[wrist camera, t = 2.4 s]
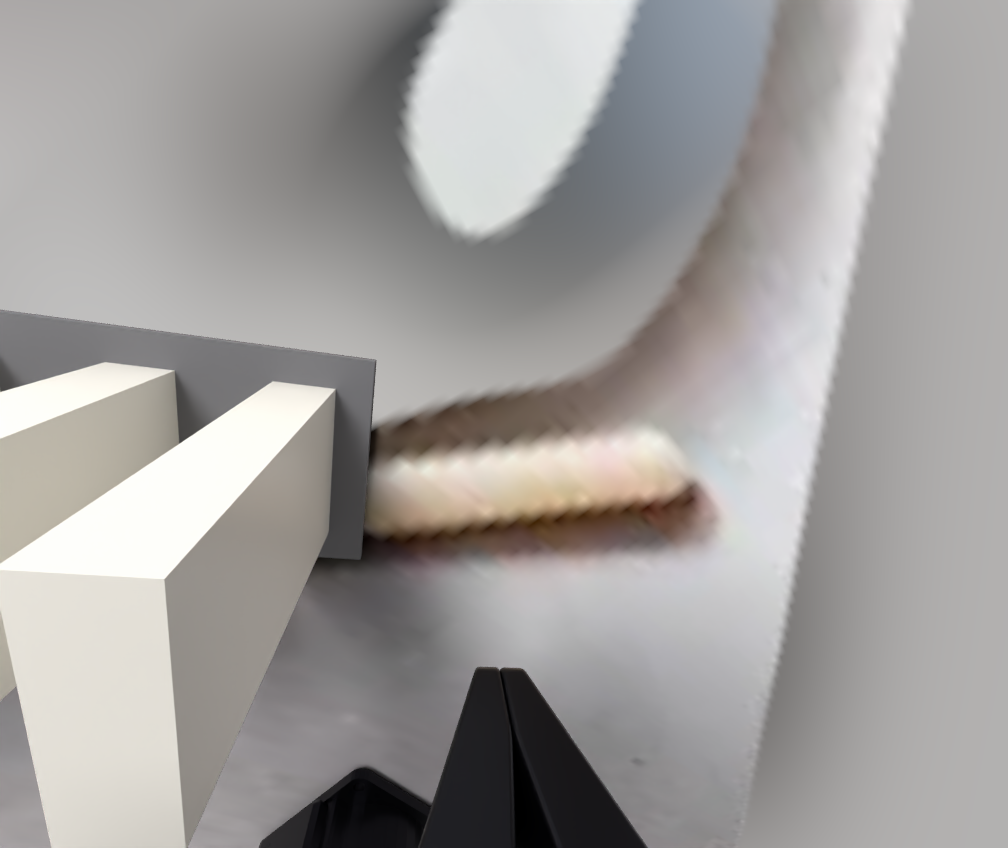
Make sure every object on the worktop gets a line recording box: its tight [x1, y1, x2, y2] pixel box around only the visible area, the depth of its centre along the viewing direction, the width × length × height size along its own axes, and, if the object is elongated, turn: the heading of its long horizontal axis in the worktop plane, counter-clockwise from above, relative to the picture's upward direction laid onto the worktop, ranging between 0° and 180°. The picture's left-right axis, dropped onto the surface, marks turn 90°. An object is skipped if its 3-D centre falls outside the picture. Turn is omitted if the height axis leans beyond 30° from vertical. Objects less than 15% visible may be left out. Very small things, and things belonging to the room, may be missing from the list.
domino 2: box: [0, 381, 336, 848], centre depth 10 cm, size 5×2×9 cm, turn 171°
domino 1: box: [0, 362, 179, 701], centre depth 10 cm, size 5×2×9 cm, turn 171°
